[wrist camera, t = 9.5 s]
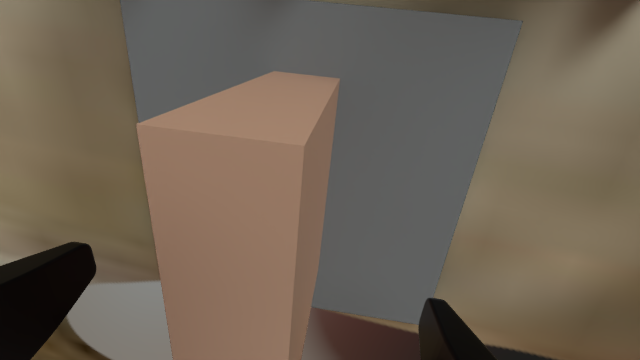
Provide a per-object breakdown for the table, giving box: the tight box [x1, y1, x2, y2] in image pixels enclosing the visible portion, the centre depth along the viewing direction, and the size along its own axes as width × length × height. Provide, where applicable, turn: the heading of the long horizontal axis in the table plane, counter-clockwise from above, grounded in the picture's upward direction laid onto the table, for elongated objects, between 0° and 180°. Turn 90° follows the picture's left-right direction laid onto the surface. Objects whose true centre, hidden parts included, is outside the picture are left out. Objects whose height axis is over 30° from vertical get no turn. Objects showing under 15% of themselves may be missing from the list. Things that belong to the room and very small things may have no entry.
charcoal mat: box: [120, 0, 523, 325], centre depth 14 cm, size 14×14×1 cm
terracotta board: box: [136, 71, 340, 360], centre depth 10 cm, size 2×9×8 cm, turn 175°
